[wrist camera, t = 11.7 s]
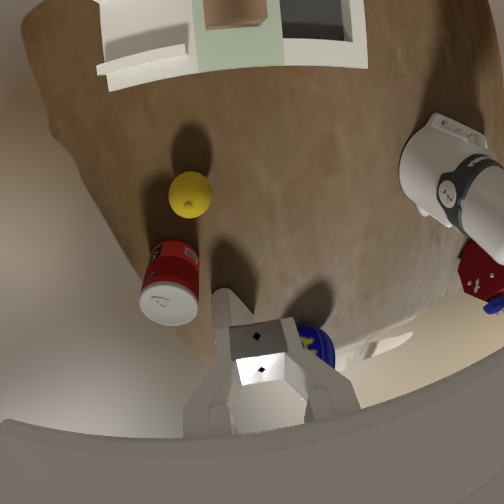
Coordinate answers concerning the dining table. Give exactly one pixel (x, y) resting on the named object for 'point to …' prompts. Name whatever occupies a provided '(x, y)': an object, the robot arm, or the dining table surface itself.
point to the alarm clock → (482, 277)
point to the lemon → (190, 194)
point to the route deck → (225, 39)
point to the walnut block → (234, 13)
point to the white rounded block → (228, 310)
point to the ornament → (317, 343)
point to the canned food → (171, 284)
